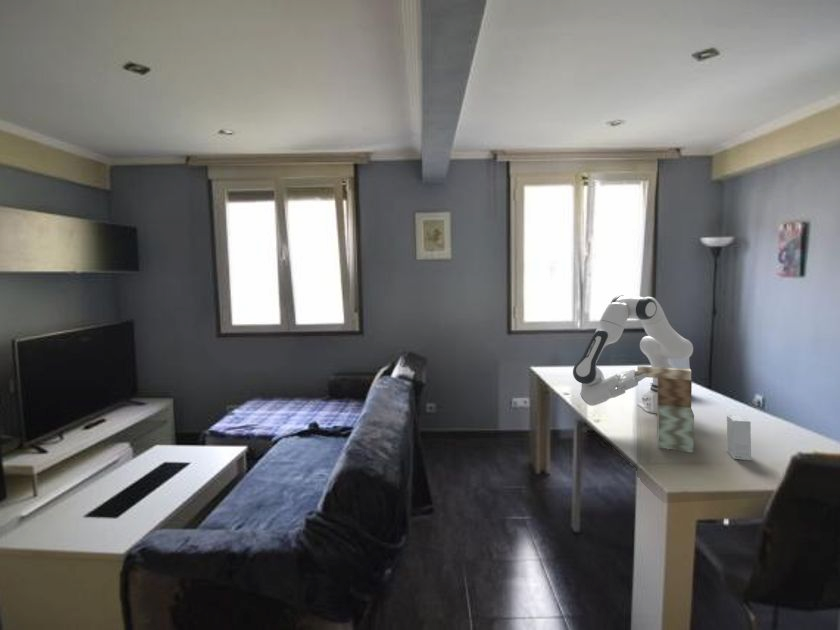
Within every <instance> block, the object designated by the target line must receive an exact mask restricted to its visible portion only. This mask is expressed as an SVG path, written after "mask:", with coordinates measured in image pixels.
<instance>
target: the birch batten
mask: <svg viewBox="0 0 840 630" xmlns="http://www.w3.org/2000/svg"><path fill="white" fill-rule="evenodd" d="M636 371H637V376H639V375H641V374H643V373H646V374H647V377H646V378H651V379H653V378H665V379H680V380H691V381H692V369H691V368H690V369H682V368H664V367H652V366H643V365H637V370H636Z"/></svg>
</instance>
